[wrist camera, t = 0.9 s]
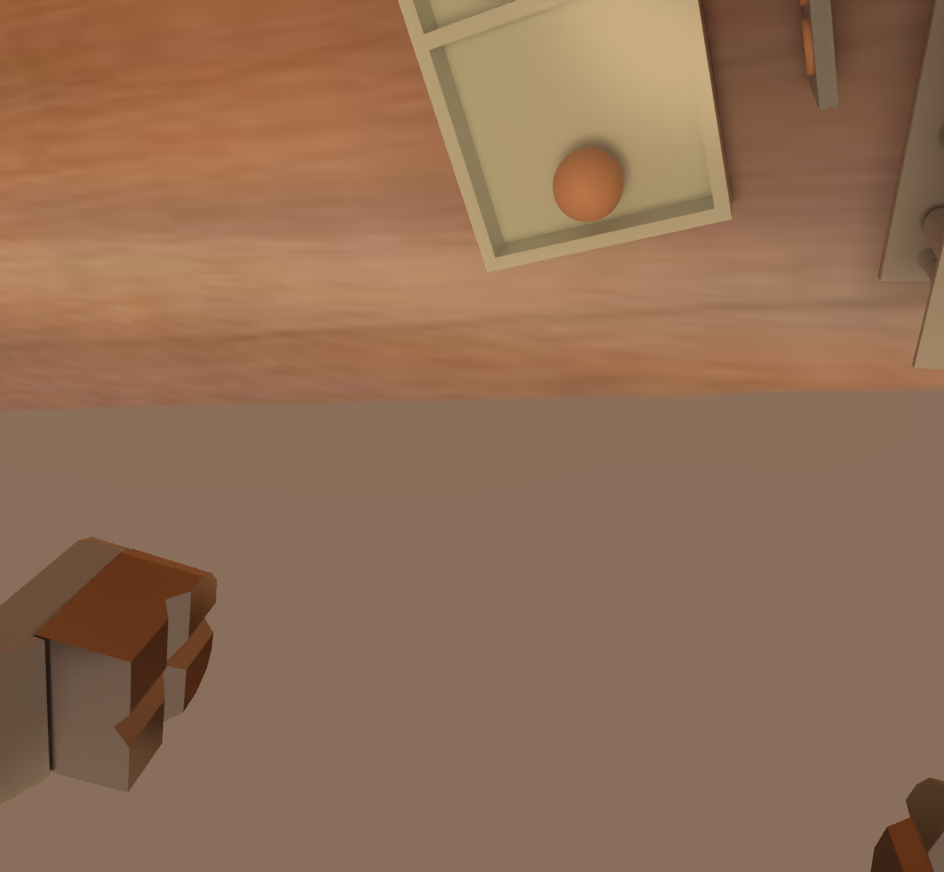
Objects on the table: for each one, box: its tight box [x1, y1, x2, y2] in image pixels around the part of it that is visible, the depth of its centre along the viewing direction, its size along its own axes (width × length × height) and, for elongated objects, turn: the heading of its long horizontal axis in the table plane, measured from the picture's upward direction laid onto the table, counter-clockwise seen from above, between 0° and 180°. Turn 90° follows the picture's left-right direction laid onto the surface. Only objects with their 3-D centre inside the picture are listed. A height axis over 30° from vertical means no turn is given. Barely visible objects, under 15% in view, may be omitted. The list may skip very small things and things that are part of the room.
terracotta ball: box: [553, 148, 624, 222], centre depth 43 cm, size 4×4×4 cm
